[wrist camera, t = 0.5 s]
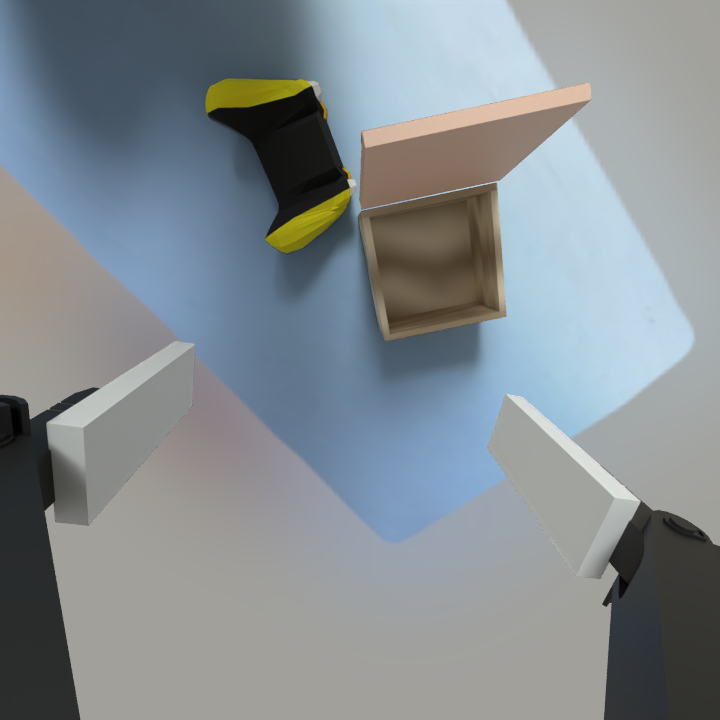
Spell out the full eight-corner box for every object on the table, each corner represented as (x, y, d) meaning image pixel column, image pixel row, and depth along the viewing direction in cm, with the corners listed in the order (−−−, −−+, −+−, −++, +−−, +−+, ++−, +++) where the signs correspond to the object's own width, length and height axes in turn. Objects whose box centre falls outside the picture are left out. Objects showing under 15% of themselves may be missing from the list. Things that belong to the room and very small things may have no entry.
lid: (361, 209, 31) (358, 197, 31) (500, 180, 31) (498, 167, 31) (365, 147, 19) (361, 127, 19) (591, 99, 19) (589, 78, 19)
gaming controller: (281, 258, 39) (366, 221, 39) (272, 260, 34) (370, 218, 33) (212, 107, 35) (307, 62, 34) (189, 83, 30) (301, 30, 29)
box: (357, 216, 38) (361, 211, 32) (469, 193, 38) (496, 182, 31) (378, 325, 42) (385, 341, 35) (480, 304, 42) (506, 316, 35)
